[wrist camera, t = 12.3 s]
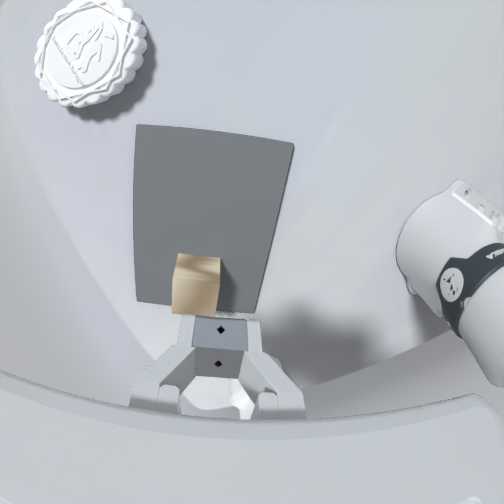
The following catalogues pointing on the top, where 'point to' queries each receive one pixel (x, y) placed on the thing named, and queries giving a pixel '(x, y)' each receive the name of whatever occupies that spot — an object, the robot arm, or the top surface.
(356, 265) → the top surface
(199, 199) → the rubber mat
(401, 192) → the top surface
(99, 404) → the robot arm
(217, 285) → the maple block
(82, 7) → the white mooncake
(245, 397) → the white cylinder with post
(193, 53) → the top surface
